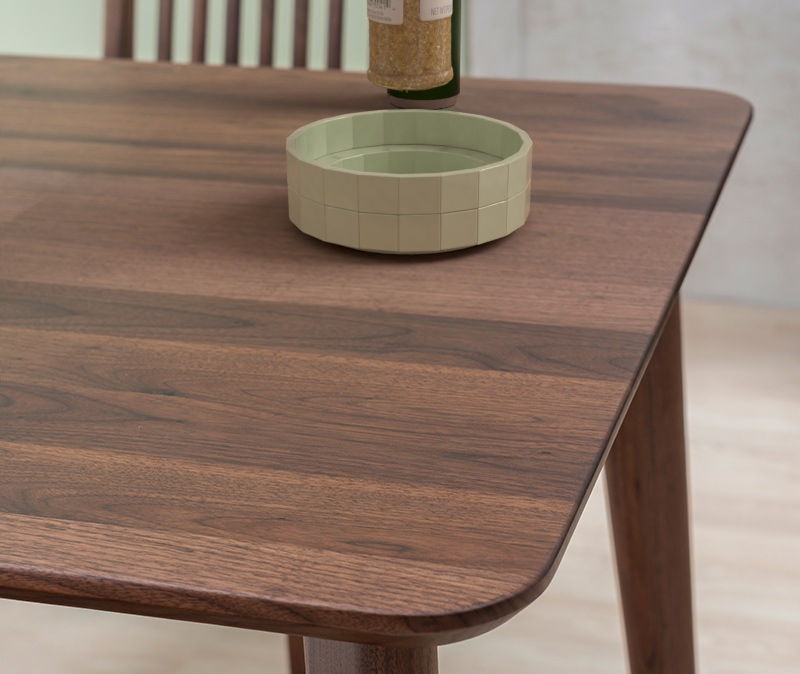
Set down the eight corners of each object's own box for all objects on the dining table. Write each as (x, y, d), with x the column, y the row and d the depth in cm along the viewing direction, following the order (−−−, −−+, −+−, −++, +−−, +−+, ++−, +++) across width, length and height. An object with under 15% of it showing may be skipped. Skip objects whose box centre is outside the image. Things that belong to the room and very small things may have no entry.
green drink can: (439, 89, 96) (440, -78, 90) (472, 105, 91) (476, -70, 86) (374, 97, 93) (372, -74, 88) (406, 114, 89) (406, -65, 84)
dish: (256, 252, 65) (251, 166, 63) (328, 178, 76) (326, 103, 74) (507, 272, 62) (510, 184, 60) (543, 192, 73) (546, 115, 71)
